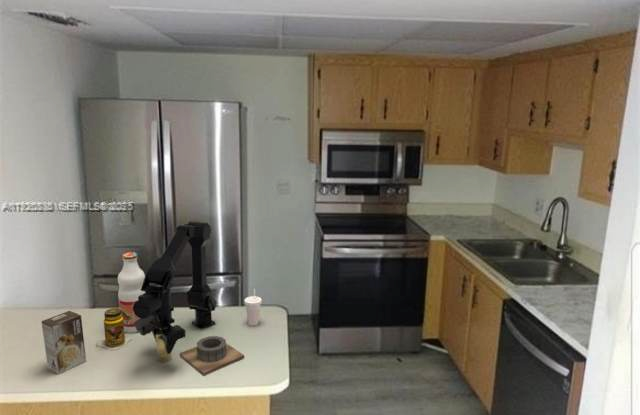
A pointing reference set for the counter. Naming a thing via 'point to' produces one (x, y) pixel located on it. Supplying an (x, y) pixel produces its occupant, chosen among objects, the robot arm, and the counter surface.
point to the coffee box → (64, 341)
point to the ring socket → (211, 355)
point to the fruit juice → (130, 289)
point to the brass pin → (162, 349)
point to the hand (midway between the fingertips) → (164, 349)
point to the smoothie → (253, 309)
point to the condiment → (113, 330)
